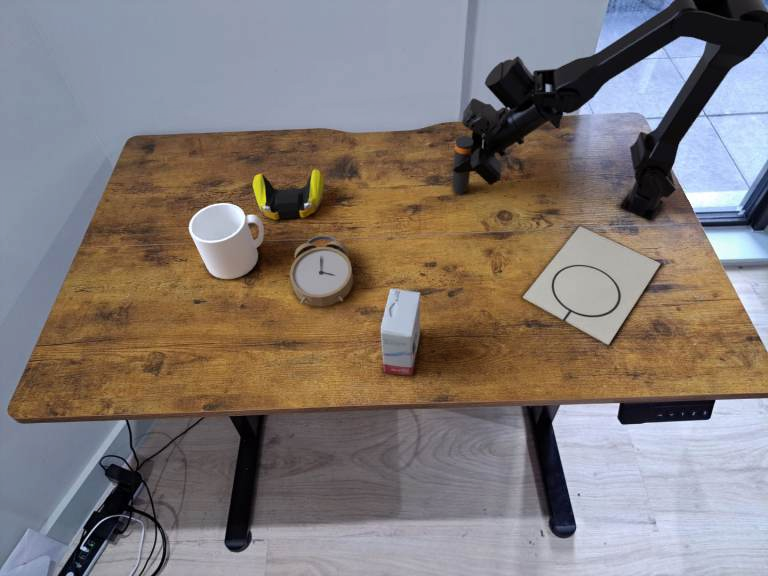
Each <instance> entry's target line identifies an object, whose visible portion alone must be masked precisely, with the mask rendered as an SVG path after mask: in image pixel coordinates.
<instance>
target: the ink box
mask: <svg viewBox="0 0 768 576" xmlns="http://www.w3.org/2000/svg"><path fill="white" fill-rule="evenodd" d="M420 336H421V292H420V291H415V290H406V289H400V288H390V290H389V292H388V297H387V301H386V305H385V309H384V313H383V317H382V320H381V324H380V339H381V340H380V341H381V351H382V352H381V353H382V363H383V365H382V366H383V372H384V373H387V374H394V375H399V376H400V375H401V376H409V377H411V376H413V374H414V373H413V372H414V368H415V364H416V363H415V362H416V358H417V352H418V346H419V341H420Z"/></svg>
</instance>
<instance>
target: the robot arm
mask: <svg viewBox="0 0 768 576" xmlns="http://www.w3.org/2000/svg"><path fill="white" fill-rule="evenodd" d="M680 38H693V39H695V40H699V41H703V42H705V45H704V49H703V53H702V55H701V57H700V59H698V62H697V63H696V64H695V66H694V68H693V70H692V71H691V73H690V74H689V76H688V77H687V79H686V80H685V82H684V84H683V85H682V87H681V89H680V90H679V91H678V93H677V94H676V96H675V98H674V99H673V101H672V103H671V104H670V105H669V108H668V110H667V111H666V112H665V114H664V115H663V117H662V119H661V121H660V122H659V123H658V125H657V127H656V128H655V129H653V130H652V131H649V132H648V133H647V132H643V131H640V132H639V133H638V134H637V135H638V136H637V138H636V141H635V142H634V143H633V144H632V145H631V146H630V147H629V149H630V159H631V165H632V170H633V175H634V179H635V181H634V183H633V186H632V188H631V191H630V192H629V193H628V194H627V196H626V197H625V198H624V199H623V200H622V202H621V203H620V205H619V208H620V209H621V210H624V211H626V212H629V213H631V214H633V215H635V216H638V217H640V218H643V219H646V220H647V221H652V220H653V219H654V217H655V215H656V214H657V213H658V212H659V210H660V209H661V207H662V206H663V204H664V201H663V200H662V199H663V198H669V197H670V196H671V195H672V194H674V193H675V192H676V190H677V189H676V184H675V181H674V177H673V173H672V170H673V167H674V165H675V162H676V158H677V154H678V150H679V146H680V144H681V142H682V140H683V139H684V137H685V136H686V134H687V133H688V132H689V130H690V129H691V127H692V126H693V124H694V123H695V121H696V120H697V119H698V117H699V116H700V114H701V113H702V111H703V110H704V109H705V108H706V106H707V104H708V103H709V101H710V100H711V98H712V97H713V95H714V94H715V93H716V91H717V90H718V88H719V87H720V86H721V84H722V83H723V81H724V80H725V78H727V75H728V74H729V73H730V71H731V70H732V69H733V68H734V67H736V66H737V65H739V64H741V63H742V62H744V61H746V60H747V59H749V58H751V56H752V55H753V54H754V53H755V52H756V50H758V49H759V47H761V46H762V45H763V43H764V42H765V41H766V40H767V39H768V9H767V7H766V4H764V1H763V0H673V1H672V2H670V4H669V5H668V6H666V8H664V9H662V10H661V11H659V12H658V13H657V14H655V15H653V16H651V17H650V18H649V19H648V20H646V21H644V22H642V23H641V24H640V25H637V26H636V27H634V28H633V29H632V30H630V31H629V32H627V33H625V34H624V35H622V36H621V37H620V38H618V39H616V40H615V41H614V42H612V43H610V44H609V45H607V46H606V47H604V48H603V49H601V50H600V51H598V52H596V53H595V54H592V55H590V56H585V57H580V58H576V59H574V60H572V61H570V62H568V63H565V64H563V65H561V66H559V67H558V68H550V69H549V68H548V69H539V70H533V72H532V73H531V71H530V70H529V69H528V67H526V65H525V63H524V61H523V60H522V58H520V56H515V58H513V59H506V60H504V61H500V62H499V63H498V64H497V65H496V66H494V67H493V68H492V70H491V71H490V72H489V73H488V75H487V76H486V79H485V81H484V85H485V87H487V89H488V90H489V91H490V92H491V93H492V95H494V96H495V98H496V99H497V100H498V101H499V102H500V103H501V104H502V105H503V106H504V107H503V106H502V107H501V108H499V109H498V110H497V109H496V108H495V107H494V106H493V105H492V104H491V103H485V102H483V101H481V100H479V99H477V98H471V100H470V101H469V102H468V105H466V108H465V109H464V111H463V114H462V120H461V124H462V125H463V126H464V127H465V128H468V129H469V130H470V132H472V133H471V136H470V137H471V138H472V139H473V145H471V149H470V154H469V155H468V156H466V157H465V158H464V159H463V160H462V161H461V162H460V163H458V164H457V165H456V166H455V167H454V166H453V170H454V171H455V172H456V173H461V172H470V173H471V172H475V173H476V174H477V175H479V176H480V177H481V178H482V180H484V181H485V182H486V183H487V184H488V185H489V186H492V185H494V184H496V183H497V182H499V181H500V180H501V175H502V162H501V160H500V159H498V158H497V156H496V154H499V156H500V157H504V156H506V154H507V149H508V148H510V147H511V146H513V145H515V144H516V143H517V145H519V146H521V145H523V144H524V143H525V137H527V136H528V135H530V134H531V133H533V132H534V131H536V130H537V129H539V128H541V127H542V126H544V125H546V124H547V123H548V122H550V123H551V125H552V126H553V127H554V128H555V129H560V128H561V127H560V126H561V121H562V118H563V116H564V114H565V113H566V114H567V115H568V114H572V113H574V112H576V111H579V110H580V109H581V108H582V107H583V106H584V105H586V104H587V103H589V102H590V101H591V100H592V99H593V98H594V97H596V95H597V93H598V92H600V90H601V89H602V88H603V87H604V85H605V84H607V83H608V82H609V81H610V80H613V79H614V78H615V77H617V76H618V75H621V74H622V73H623V72H625V71H627V70H628V69H630V68H632V67H633V66H635V65H636V64H638V63H640V62H642V61H643V60H645V59H647V58H648V57H650V56H651V55H653V54H655V53H656V52H658V51H660V50H661V49H663V48H665V47H666V46H668V45H670V44H671V43H673V42H675V41H676V40H678V39H680ZM547 86H549V91H547ZM453 170H452V171H453Z"/></svg>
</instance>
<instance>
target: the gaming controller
mask: <svg viewBox="0 0 768 576" xmlns="http://www.w3.org/2000/svg"><path fill="white" fill-rule="evenodd" d="M325 188H326V182H325V176H324V174H323V173H322V171H320V170H318V169H317V168H314V169H313V170H312V171H311V173H310V175H309V177H308V180H307V181H306V185H305V186H303V187H302V188H290V189H276V188H275V187H274V186H273V185H272V184H271V182H270V181H269V180H268V178H267V177H266V176H265V175H264V174H263V173H259V174H256V175H254V177H253V181H252V189H253V192H254V195H255V199H256V203H257V205H258V208H259V210H260V212H261V214H262V215H264V217H267V218H269V219H272V220H275V221H277V220H280V219H281V220H282V219H294V218H295V219H296V218H302V219H303V218H306V217H308V216H310V215H312V214H313V213H315V212H316V211H317V210H318V209H319V206H320V204H321V202H322V200H323V197H324V192H325Z"/></svg>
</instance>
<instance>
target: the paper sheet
mask: <svg viewBox="0 0 768 576" xmlns="http://www.w3.org/2000/svg"><path fill="white" fill-rule="evenodd" d="M660 266H661V262H659V261H656V260H654V259H652V258H650V257H648V256H646V255H643V254H641V253H639V252H637V251H635V250H633V249H630V248H628V247H626V246H624V245H622V244H619V243H618V242H615V241H614V240H611V239H609V238H606V237H604V236H602V235H601V234H598V233H596V232H595V231H592V230H589V229H587V228H585V227H583V226H579V227H578V228H577V229H576V230H575V231H574V233H573V234H572V235H571V236H570V238H569V239H568V240H567V241H566V243H565V244H564V245H563V246H562V247H561V249H560V250H559V252H557V254H556V255H555V256H554V257H553V259H552V260H551V261H550V263H548V265H547V266H546V267H545V269H543V271H542V273H541V274H540V275H539V276H538V278H536V280H535V281H534V282H533V283H532V285H531V286H530V287H529V288H528V290H527V291H526V292H525V293H524V295H523V296H522V299H524V300H526V301H528V302H530V303H531V304H533V305H535V306H536V307H539V308H540V309H542V310H544V311H545V312H547V313H549V314H551V315H553V316H555V317H556V318H557V319H560V320H562V321H563V322H565V323H567V324H569V325H570V326H573V327H574V328H576V329H578V330H580V331H582V332H583V333H585V334H586V335H589V336H591V337H593V338H594V339H596V340H598V341H600V342H601V343H603V344H605V345H607V346H609V345H610V343H612V341H613V339H614V338H615V336H616V335H617V333H618V331H619V330H620V328H621V327H622V325H623V324H624V322H625V321H626V319H627V317H628V316H629V314H630V312H631V311H632V310H633V307H634V306H635V305H636V303H637V301H638V300H639V299H640V297H641V296H642V294H643V292H644V291H645V289H646V287H647V286H648V284H649V283H650V282H651V280H652V278H653V277H654V275H655V274H656V272H657V271H658V269H659V267H660Z"/></svg>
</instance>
